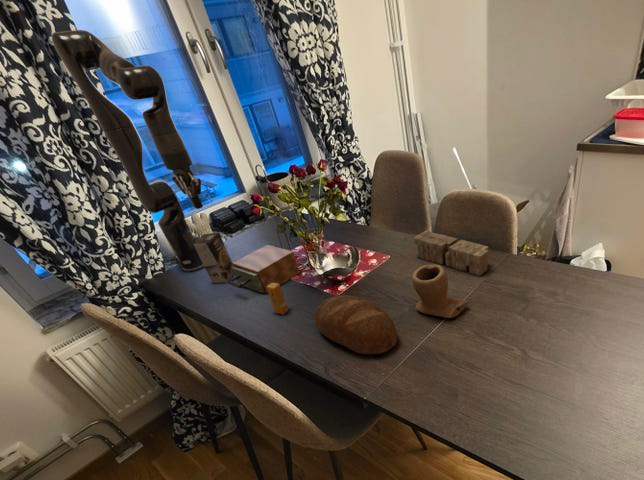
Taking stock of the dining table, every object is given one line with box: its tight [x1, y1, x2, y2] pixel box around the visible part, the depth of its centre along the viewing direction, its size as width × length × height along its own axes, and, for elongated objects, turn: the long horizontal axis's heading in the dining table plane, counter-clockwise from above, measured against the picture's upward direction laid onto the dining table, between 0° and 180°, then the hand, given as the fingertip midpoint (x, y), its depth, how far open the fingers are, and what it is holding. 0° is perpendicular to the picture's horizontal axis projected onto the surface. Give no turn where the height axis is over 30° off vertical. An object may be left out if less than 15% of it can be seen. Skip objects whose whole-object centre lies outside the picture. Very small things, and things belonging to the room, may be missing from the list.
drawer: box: [226, 266, 264, 293], centre depth 142 cm, size 20×14×7 cm, turn 146°
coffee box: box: [194, 232, 234, 284], centre depth 146 cm, size 9×6×16 cm
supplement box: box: [266, 283, 289, 315], centre depth 126 cm, size 3×3×10 cm
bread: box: [314, 294, 398, 355], centre depth 112 cm, size 16×29×11 cm, turn 50°
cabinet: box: [232, 244, 301, 294], centre depth 144 cm, size 16×15×9 cm
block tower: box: [413, 229, 489, 277], centre depth 141 cm, size 8×8×29 cm
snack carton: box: [300, 238, 313, 268], centre depth 147 cm, size 5×3×13 cm, turn 56°
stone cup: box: [411, 264, 469, 319], centre depth 115 cm, size 15×12×15 cm
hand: (199, 207), depth 127 cm, fingers closed
